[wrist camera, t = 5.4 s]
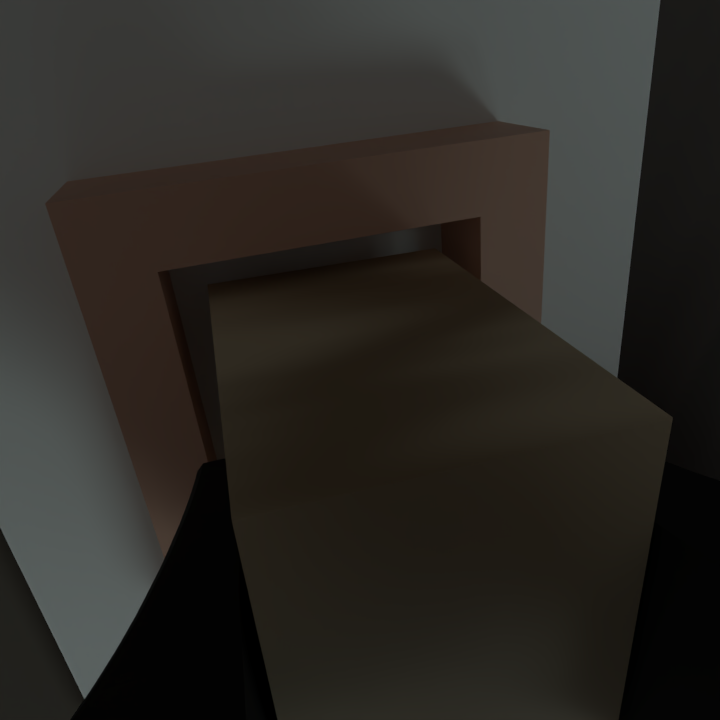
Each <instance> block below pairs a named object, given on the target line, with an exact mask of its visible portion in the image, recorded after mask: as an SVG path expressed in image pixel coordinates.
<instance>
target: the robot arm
mask: <svg viewBox="0 0 720 720" xmlns="http://www.w3.org/2000/svg"><path fill="white" fill-rule="evenodd" d="M71 720H277V715H276V711H275V707H274V702H273V698H272V694H271V689H270V685H269V681H268V676H267V672H266V668H265V663H264V659H263V655H262V650H261V646H260V642H259V637H258V633H257V629H256V624H255V620H254V616H253V611H252V607H251V602H250V598H249V594H248V589H247V585H246V581H245V576H244V572H243V568H242V563H241V559H240V555H239V550H238V546H237V542H236V537H235V533H234V529H233V524H232V519H231V509H230V499H229V490H228V480H227V470H226V460H225V458H224V459H220V460H215V461H211V462H207V463H203V464H202V465H201V467H200V468H199V469H198V471H197V474H196V478H195V482H194V485H193V488H192V491H191V494H190V497H189V500H188V503H187V506H186V508H185V511H184V514H183V516H182V519H181V521H180V524H179V526H178V529H177V531H176V533H175V536H174V538H173V540H172V542H171V545H170V547H169V549H168V552H167V554H166V556H165V559H164V561H163V563H162V565H161V567H160V569H159V571H158V573H157V575H156V577H155V579H154V581H153V583H152V585H151V587H150V589H149V591H148V593H147V595H146V597H145V599H144V601H143V603H142V605H141V606H140V608H139V610H138V612H137V614H136V616H135V618H134V620H133V621H132V623H131V625H130V627H129V628H128V630H127V632H126V634H125V635H124V637H123V639H122V641H121V642H120V644H119V646H118V647H117V649H116V651H115V652H114V654H113V656H112V657H111V659H110V660H109V662H108V664H107V665H106V667H105V668H104V670H103V672H102V673H101V675H100V676H99V678H98V680H97V681H96V683H95V684H94V686H93V687H92V689H91V690H90V692H89V693H88V695H87V696H86V698H85V699H84V701H83V702H82V704H81V705H80V706H79V708H78V709H77V711H76V712H75V714H74V715H73V717H72V718H71ZM619 720H720V481H718V480H715V479H712V478H709V477H706V476H703V475H700V474H697V473H694V472H692V471H689V470H686V469H683V468H681V467H678V466H675V465H673V464H670V463H668V462H665V464H664V470H663V476H662V481H661V487H660V492H659V498H658V503H657V509H656V514H655V520H654V526H653V531H652V537H651V542H650V548H649V553H648V559H647V564H646V570H645V576H644V581H643V587H642V592H641V598H640V603H639V609H638V614H637V620H636V626H635V631H634V637H633V642H632V648H631V653H630V659H629V664H628V670H627V676H626V681H625V687H624V692H623V698H622V703H621V709H620V714H619Z"/></svg>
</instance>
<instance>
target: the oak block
mask: <svg viewBox="0 0 720 720" xmlns="http://www.w3.org/2000/svg"><path fill="white" fill-rule="evenodd" d="M207 285H208V294H209V304H210V314H211V324H212V333H213V343H214V353H215V363H216V372H217V382H218V392H219V402H220V411H221V421H222V431H223V441H224V451H225V460H226V470H227V480H228V490H229V499H230V509H231V519H232V524H233V529H234V533H235V537H236V542H237V546H238V550H239V555H240V559H241V563H242V568H243V572H244V576H245V581H246V585H247V589H248V594H249V598H250V602H251V607H252V611H253V616H254V620H255V624H256V629H257V633H258V637H259V642H260V646H261V650H262V655H263V659H264V663H265V668H266V672H267V676H268V681H269V685H270V689H271V694H272V698H273V702H274V707H275V711H276V715H277V720H619V714H620V709H621V703H622V698H623V692H624V687H625V681H626V676H627V670H628V664H629V659H630V653H631V648H632V642H633V637H634V631H635V626H636V620H637V614H638V609H639V603H640V598H641V592H642V587H643V581H644V576H645V570H646V564H647V559H648V553H649V548H650V542H651V537H652V531H653V526H654V520H655V514H656V509H657V503H658V498H659V492H660V487H661V481H662V476H663V470H664V464H665V459H666V453H667V448H668V442H669V437H670V431H671V425H672V420H673V417H672V416H670V415H669V414H667V413H666V412H665V411H663V410H662V409H660V408H659V407H657V406H656V405H655V404H653V403H652V402H650V401H649V400H648V399H646V398H645V397H643V396H642V395H641V394H639V393H638V392H636V391H635V390H634V389H632V388H631V387H629V386H628V385H627V384H625V383H624V382H622V381H621V380H620V379H618V378H617V377H615V376H614V375H612V374H611V373H610V372H608V371H607V370H605V369H604V368H603V367H601V366H600V365H598V364H597V363H596V362H594V361H593V360H591V359H590V358H589V357H587V356H586V355H584V354H583V353H582V352H580V351H579V350H577V349H576V348H575V347H573V346H572V345H570V344H569V343H567V342H566V341H565V340H563V339H562V338H560V337H559V336H558V335H556V334H555V333H553V332H552V331H551V330H549V329H548V328H546V327H545V326H544V325H542V324H541V323H539V322H538V321H537V320H535V319H534V318H532V317H531V316H530V315H528V314H527V313H525V312H524V311H523V310H521V309H520V308H518V307H517V306H515V305H514V304H513V303H511V302H510V301H508V300H507V299H506V298H504V297H503V296H501V295H500V294H499V293H497V292H496V291H494V290H493V289H492V288H490V287H489V286H487V285H486V284H485V283H483V282H482V281H480V280H479V279H478V278H476V277H475V276H473V275H472V274H470V273H469V272H468V271H466V270H465V269H463V268H462V267H461V266H459V265H458V264H456V263H455V262H454V261H452V260H451V259H449V258H448V257H447V256H445V255H444V254H442V253H441V252H440V251H438V250H437V249H435V248H434V249H428V250H421V251H415V252H409V253H402V254H396V255H390V256H384V257H377V258H371V259H365V260H358V261H352V262H346V263H339V264H333V265H327V266H321V267H314V268H308V269H302V270H295V271H289V272H283V273H276V274H270V275H264V276H258V277H251V278H245V279H239V280H232V281H226V282H220V283H213V284H207Z"/></svg>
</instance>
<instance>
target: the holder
mask: <svg viewBox="0 0 720 720" xmlns="http://www.w3.org/2000/svg"><path fill="white" fill-rule="evenodd" d="M659 7H660V0H0V528H1V530H2V532H3V534H4V536H5V538H6V541H7V543H8V545H9V547H10V549H11V551H12V553H13V555H14V557H15V559H16V561H17V563H18V565H19V567H20V569H21V571H22V573H23V575H24V577H25V579H26V581H27V583H28V585H29V587H30V589H31V591H32V593H33V595H34V598H35V600H36V602H37V604H38V606H39V608H40V610H41V612H42V614H43V616H44V618H45V620H46V622H47V624H48V626H49V628H50V630H51V632H52V634H53V636H54V638H55V640H56V642H57V644H58V646H59V648H60V650H61V652H62V655H63V657H64V659H65V661H66V663H67V665H68V667H69V669H70V671H71V673H72V675H73V677H74V679H75V681H76V683H77V685H78V687H79V689H80V691H81V693H82V695H83V697H84V699H85V698H86V696H87V695H88V693H89V692H90V690H91V689H92V687H93V686H94V684H95V683H96V681H97V680H98V678H99V676H100V675H101V673H102V672H103V670H104V668H105V667H106V665H107V664H108V662H109V660H110V659H111V657H112V656H113V654H114V652H115V651H116V649H117V647H118V646H119V644H120V642H121V641H122V639H123V637H124V635H125V634H126V632H127V630H128V628H129V627H130V625H131V623H132V621H133V620H134V618H135V616H136V614H137V612H138V610H139V608H140V606H141V605H142V603H143V601H144V599H145V597H146V595H147V593H148V591H149V589H150V587H151V585H152V583H153V581H154V579H155V577H156V575H157V573H158V571H159V569H160V567H161V565H162V563H163V561H164V559H165V556H166V554H167V552H168V549H169V547H170V545H171V542H172V540H173V538H174V536H175V533H176V531H177V529H178V526H179V524H180V521H181V519H182V516H183V514H184V511H185V508H186V506H187V503H188V500H189V497H190V494H191V491H192V488H193V485H194V482H195V478H196V474H197V471H198V469H199V468H200V467H201V465H202V464H203V463H207V462H211V461H215V460H220V459H224V458H225V451H224V441H223V431H222V421H221V411H220V402H219V392H218V382H217V372H216V363H215V353H214V343H213V333H212V324H211V314H210V304H209V294H208V285H207V284H213V283H220V282H226V281H232V280H239V279H245V278H251V277H258V276H264V275H270V274H276V273H283V272H289V271H295V270H302V269H308V268H314V267H321V266H327V265H333V264H339V263H346V262H352V261H358V260H365V259H371V258H377V257H384V256H390V255H396V254H402V253H409V252H415V251H421V250H428V249H434V248H435V249H437V250H438V251H440V252H441V253H442V254H444V255H445V256H447V257H448V258H449V259H451V260H452V261H454V262H455V263H456V264H458V265H459V266H461V267H462V268H463V269H465V270H466V271H468V272H469V273H470V274H472V275H473V276H475V277H476V278H478V279H479V280H480V281H482V282H483V283H485V284H486V285H487V286H489V287H490V288H492V289H493V290H494V291H496V292H497V293H499V294H500V295H501V296H503V297H504V298H506V299H507V300H508V301H510V302H511V303H513V304H514V305H515V306H517V307H518V308H520V309H521V310H523V311H524V312H525V313H527V314H528V315H530V316H531V317H532V318H534V319H535V320H537V321H538V322H539V323H541V324H542V325H544V326H545V327H546V328H548V329H549V330H551V331H552V332H553V333H555V334H556V335H558V336H559V337H560V338H562V339H563V340H565V341H566V342H567V343H569V344H570V345H572V346H573V347H575V348H576V349H577V350H579V351H580V352H582V353H583V354H584V355H586V356H587V357H589V358H590V359H591V360H593V361H594V362H596V363H597V364H598V365H600V366H601V367H603V368H604V369H605V370H607V371H608V372H610V373H611V374H612V375H614V376H615V377H617V376H618V368H619V359H620V350H621V341H622V332H623V324H624V315H625V306H626V297H627V288H628V280H629V271H630V262H631V253H632V244H633V236H634V227H635V218H636V209H637V200H638V192H639V183H640V174H641V165H642V156H643V148H644V139H645V130H646V121H647V112H648V103H649V95H650V86H651V77H652V68H653V59H654V51H655V42H656V33H657V24H658V15H659Z"/></svg>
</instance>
